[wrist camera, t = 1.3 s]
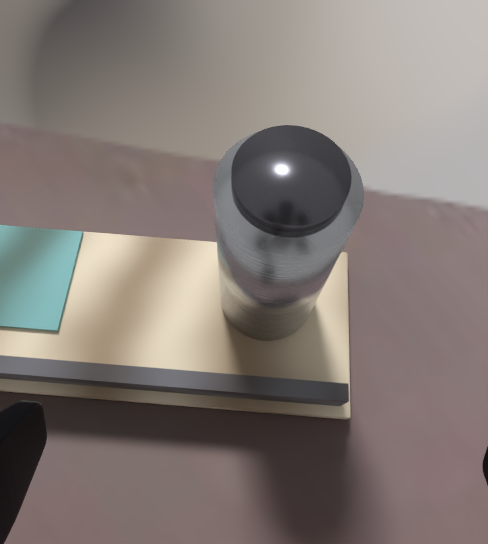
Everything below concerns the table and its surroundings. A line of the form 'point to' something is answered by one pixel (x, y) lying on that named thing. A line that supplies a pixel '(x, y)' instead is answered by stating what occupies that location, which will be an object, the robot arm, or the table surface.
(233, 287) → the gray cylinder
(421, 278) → the table surface
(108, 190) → the table surface
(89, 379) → the rail board
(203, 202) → the table surface
